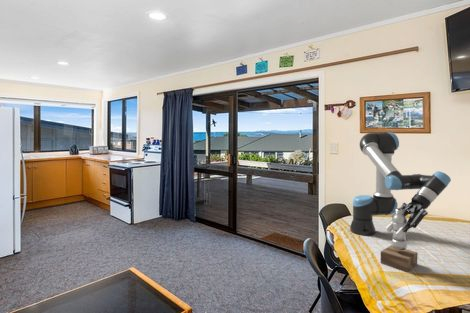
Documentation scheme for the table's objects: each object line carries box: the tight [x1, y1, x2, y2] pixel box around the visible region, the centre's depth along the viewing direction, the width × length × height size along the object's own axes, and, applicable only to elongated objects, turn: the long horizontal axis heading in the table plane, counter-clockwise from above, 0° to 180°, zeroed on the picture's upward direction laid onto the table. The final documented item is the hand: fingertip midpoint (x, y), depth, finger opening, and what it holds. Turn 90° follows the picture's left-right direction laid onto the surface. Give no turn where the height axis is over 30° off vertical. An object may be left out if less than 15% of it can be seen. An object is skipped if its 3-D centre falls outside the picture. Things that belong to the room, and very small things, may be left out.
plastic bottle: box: [391, 207, 408, 250], centre depth 134 cm, size 6×7×20 cm
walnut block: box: [380, 244, 419, 273], centre depth 135 cm, size 12×12×6 cm
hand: (392, 233), depth 133 cm, fingers closed on plastic bottle, 6 cm apart
